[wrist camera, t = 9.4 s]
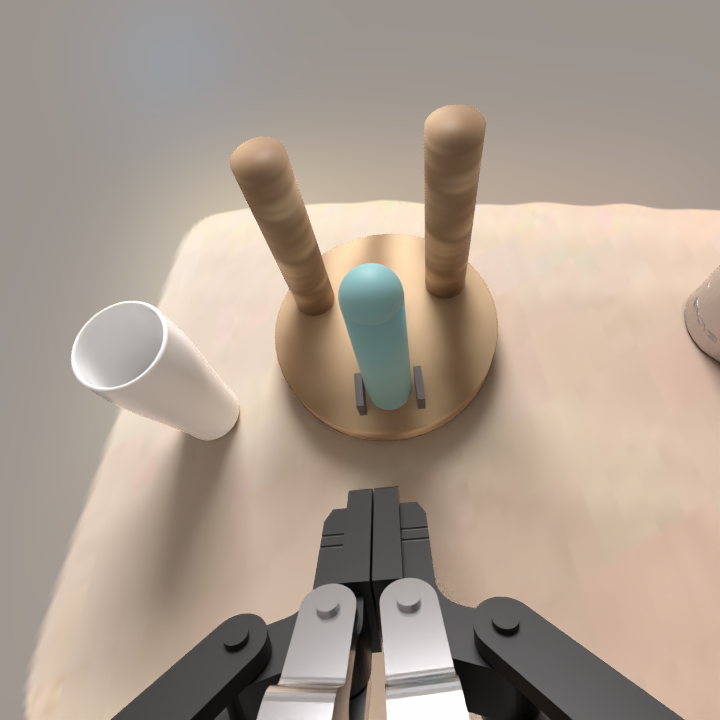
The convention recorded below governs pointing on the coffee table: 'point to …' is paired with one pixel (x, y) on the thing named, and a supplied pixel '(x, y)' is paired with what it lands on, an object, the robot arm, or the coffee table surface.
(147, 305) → the drinking glass
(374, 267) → the teal capsule cylinder
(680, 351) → the coffee table surface
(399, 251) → the stool
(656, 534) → the coffee table surface
